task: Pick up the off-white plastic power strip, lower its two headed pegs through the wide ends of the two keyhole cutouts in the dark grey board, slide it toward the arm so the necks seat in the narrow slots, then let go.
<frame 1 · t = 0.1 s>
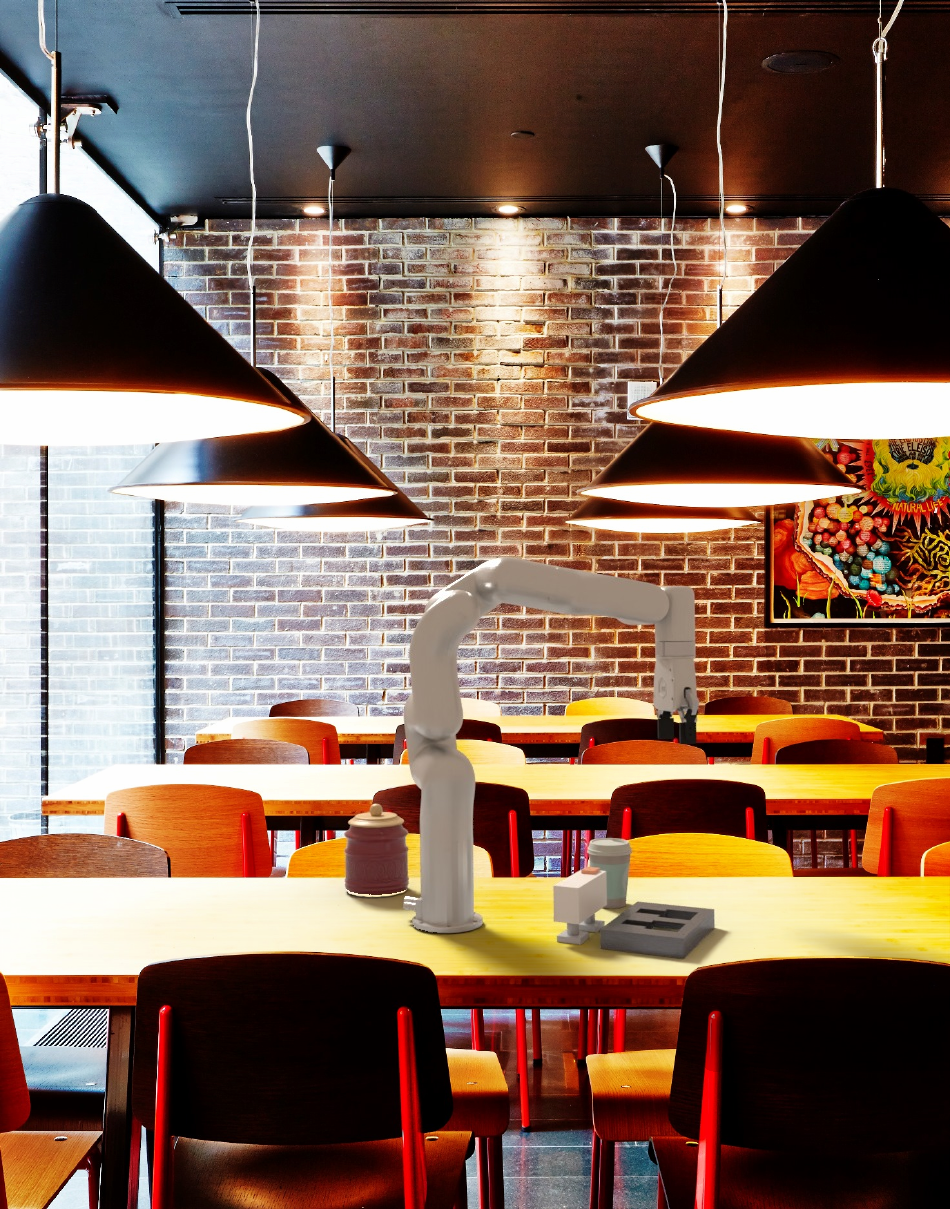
hand: (676, 741, 210), 31 cm above the table, tool pointing down, fingers open, 9 cm apart
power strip: (581, 933, 192), on the table
canister: (376, 892, 225), on the table
coffee cup: (610, 905, 211), on the table
keyhole board: (659, 937, 189), on the table
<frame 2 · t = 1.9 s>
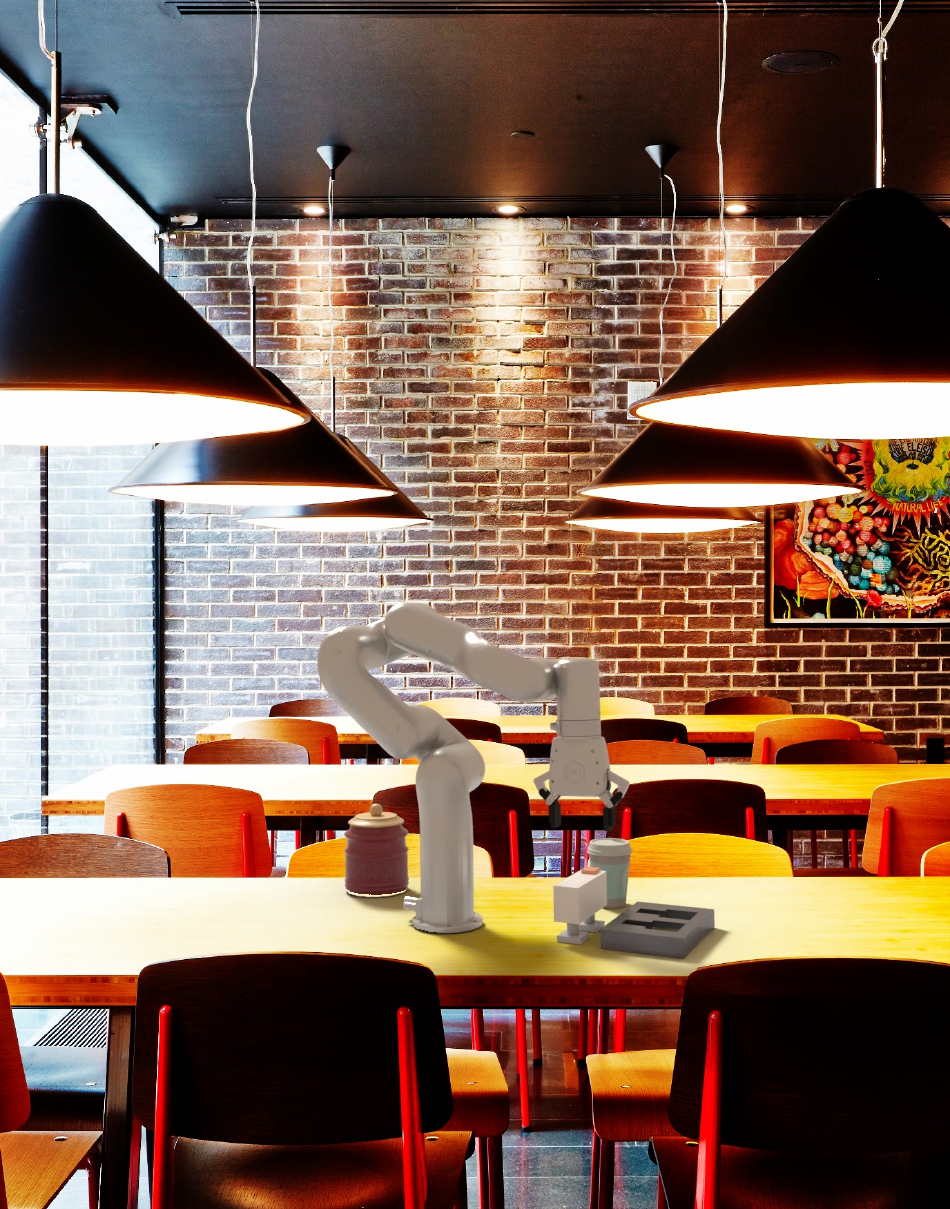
hand: (582, 828, 192), 18 cm above the table, tool pointing down, fingers open, 9 cm apart
nothing on the table moved.
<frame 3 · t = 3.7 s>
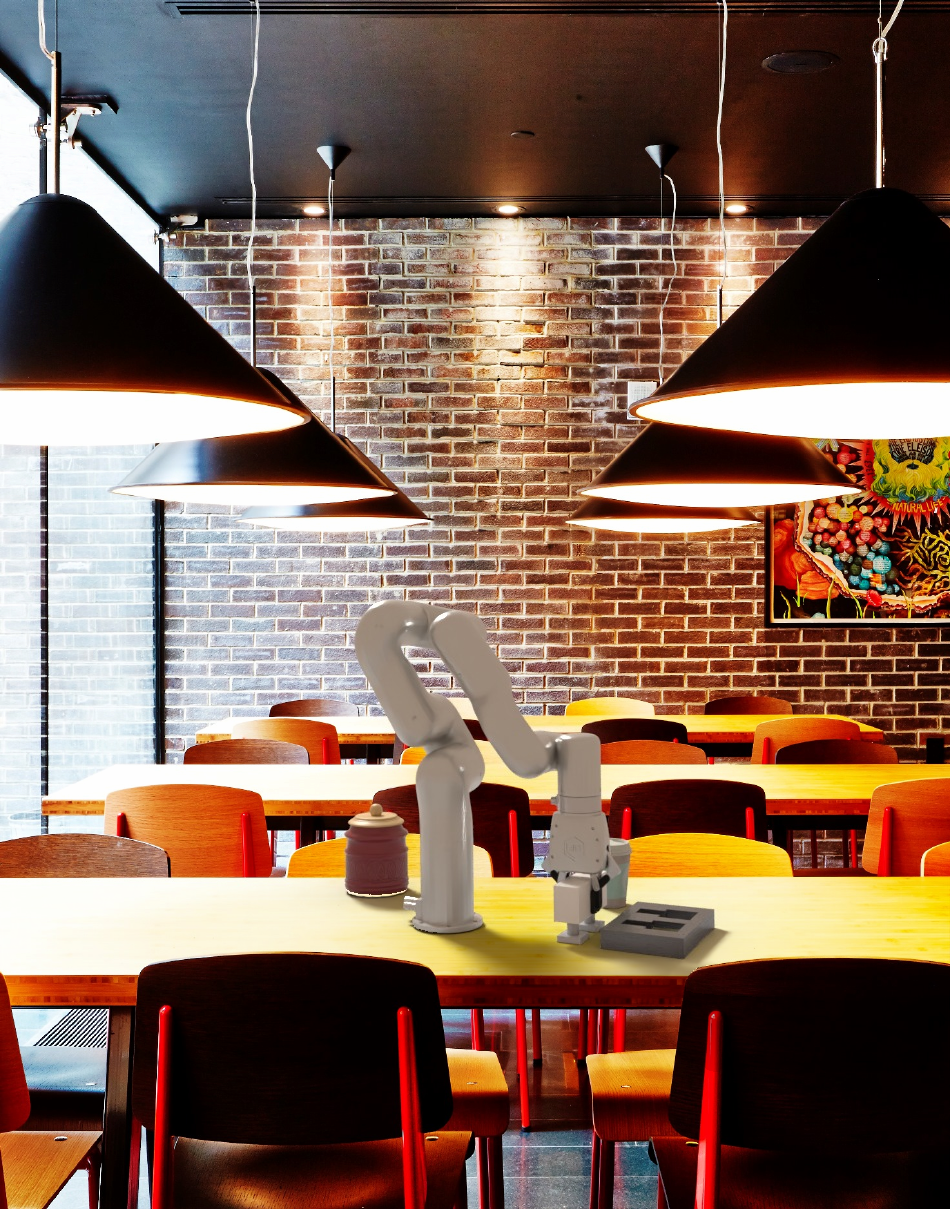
hand: (581, 909, 192), 4 cm above the table, tool pointing down, fingers closed on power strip, 4 cm apart
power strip: (581, 933, 192), on the table, touching gripper
everything else where it was.
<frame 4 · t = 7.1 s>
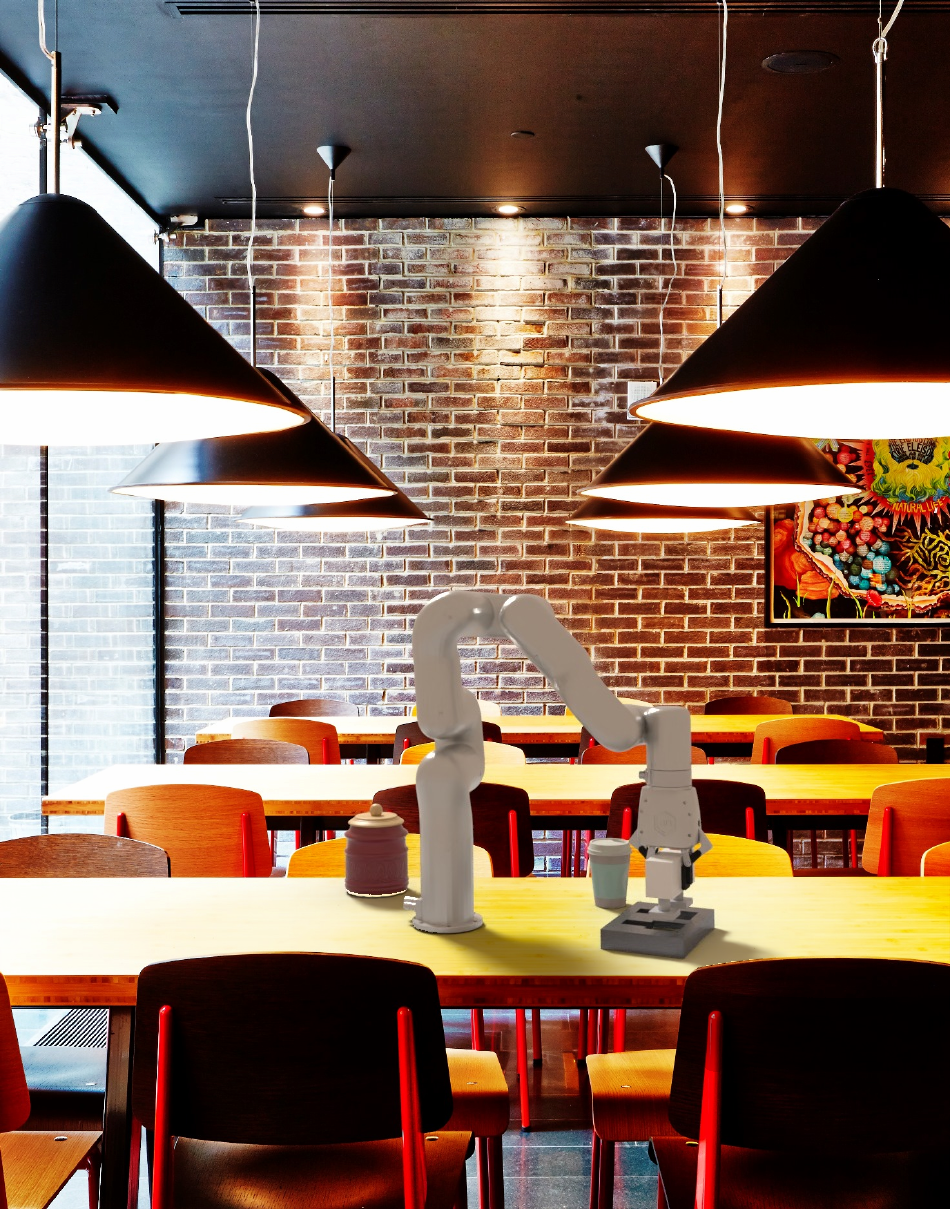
hand: (670, 885, 188), 9 cm above the table, tool pointing down, fingers closed on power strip, 4 cm apart
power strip: (671, 910, 188), point 5 cm above the table, touching gripper
everything else where it was.
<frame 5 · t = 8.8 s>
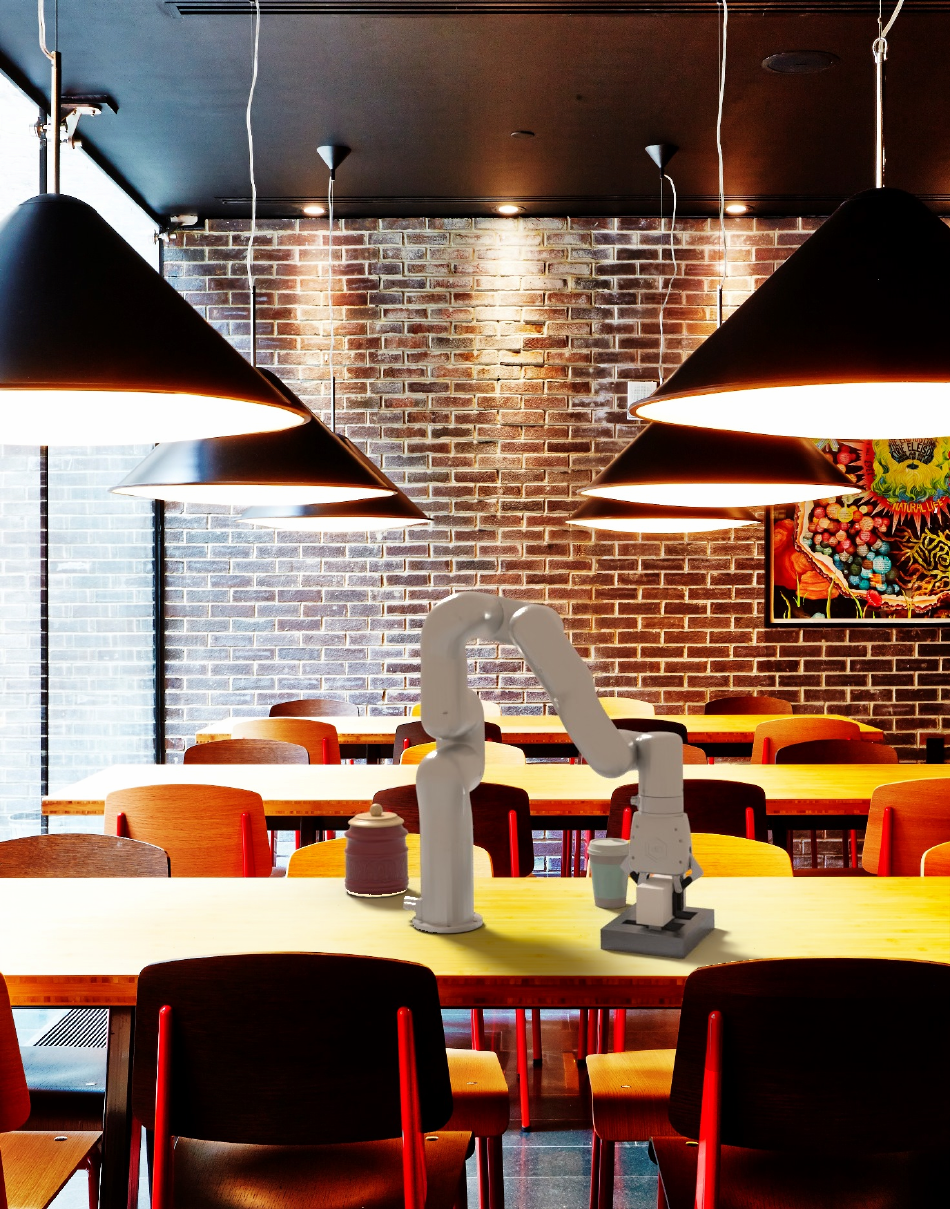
hand: (661, 911, 188), 4 cm above the table, tool pointing down, fingers closed on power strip, 4 cm apart
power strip: (662, 936, 188), resting in keyhole board, touching gripper
everything else where it was.
when the fingers open (5 cm above the table, at t = 10.4 s): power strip stays where it is, resting in keyhole board.
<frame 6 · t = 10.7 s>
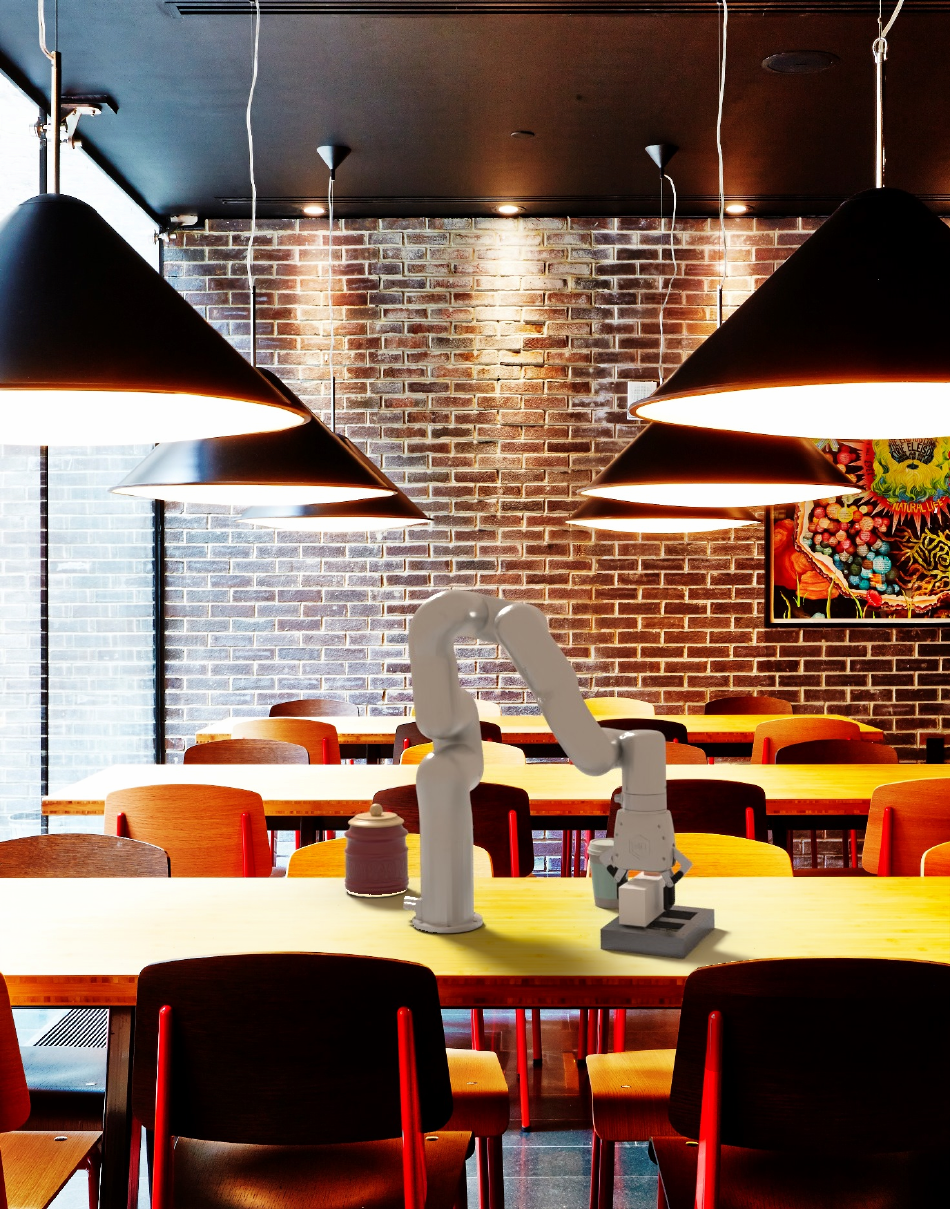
hand: (645, 905, 190), 5 cm above the table, tool pointing down, fingers open, 7 cm apart
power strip: (645, 936, 190), resting in keyhole board
everything else where it was.
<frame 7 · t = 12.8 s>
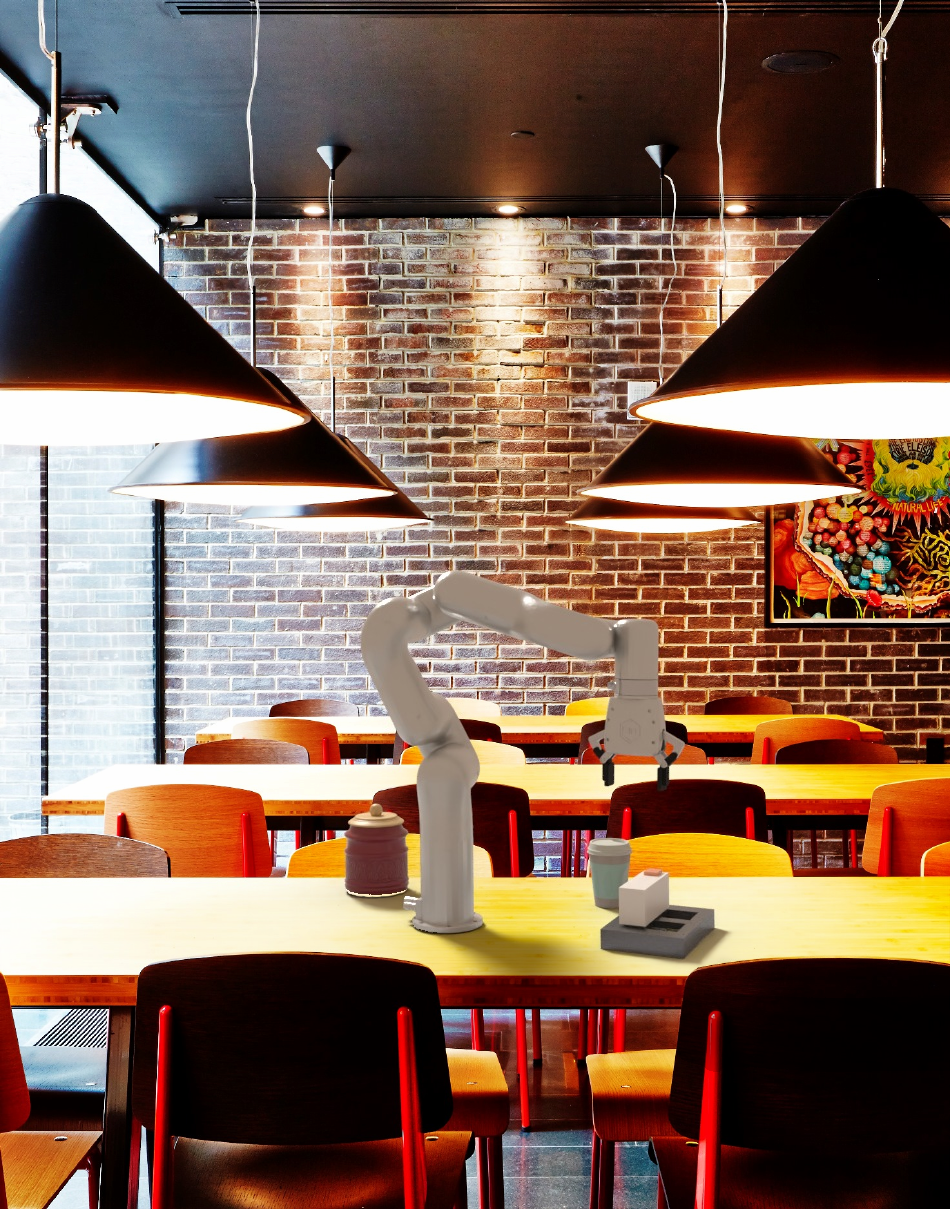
hand: (635, 787, 193), 25 cm above the table, tool pointing down, fingers open, 9 cm apart
nothing on the table moved.
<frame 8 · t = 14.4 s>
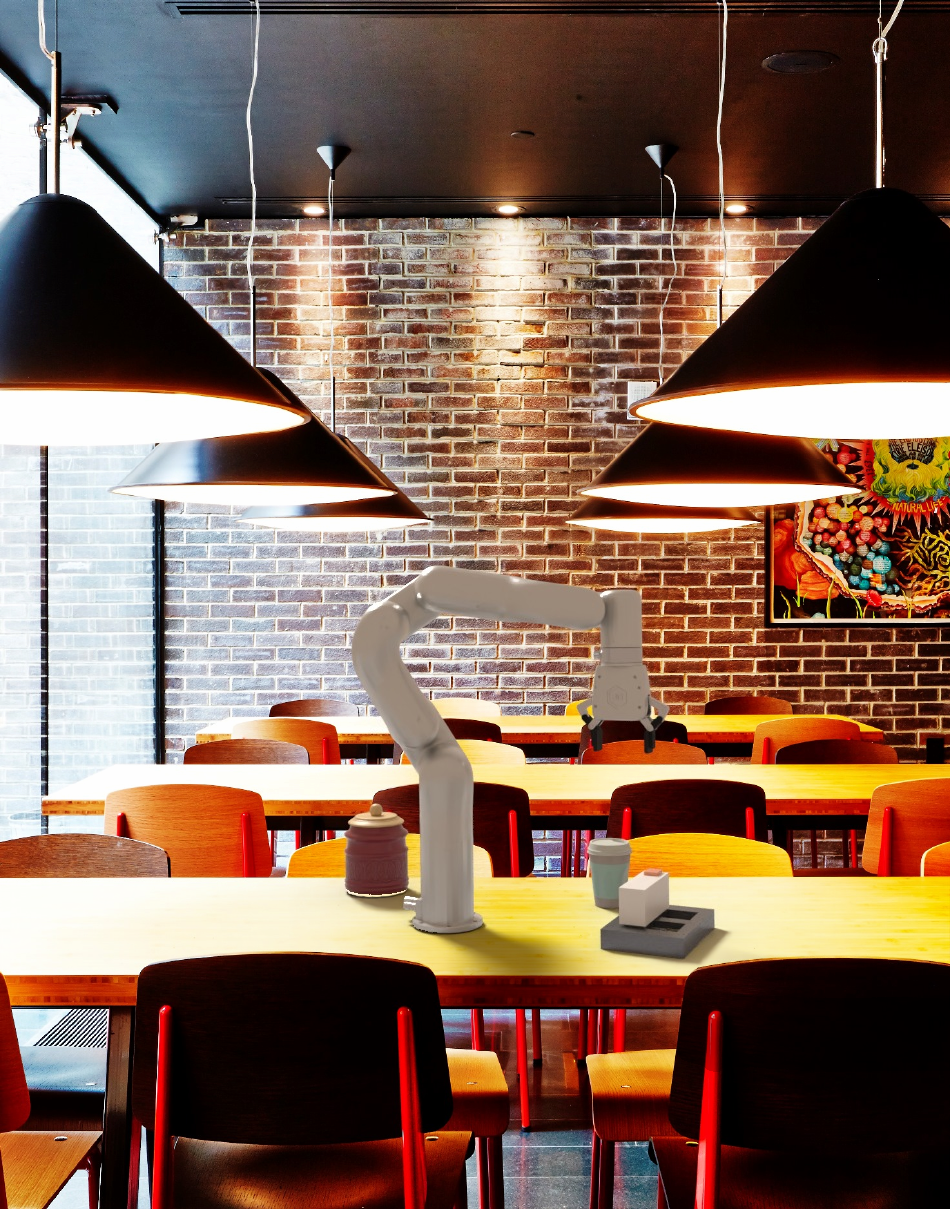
hand: (623, 751, 201), 30 cm above the table, tool pointing down, fingers open, 9 cm apart
nothing on the table moved.
at the end: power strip 0.5 cm from the target spot on the keyhole board, point 0.0 cm above the keyhole board's base; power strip tilted 0°; the gripper is holding nothing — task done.
